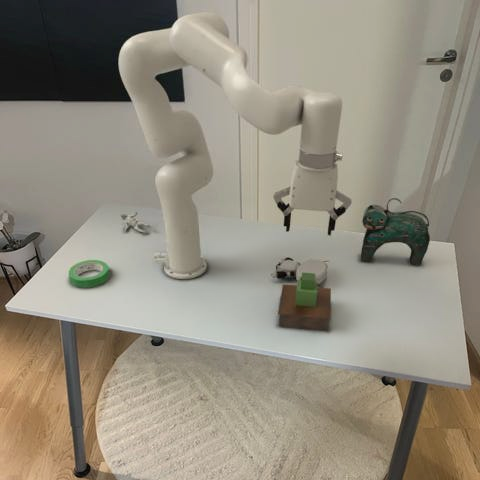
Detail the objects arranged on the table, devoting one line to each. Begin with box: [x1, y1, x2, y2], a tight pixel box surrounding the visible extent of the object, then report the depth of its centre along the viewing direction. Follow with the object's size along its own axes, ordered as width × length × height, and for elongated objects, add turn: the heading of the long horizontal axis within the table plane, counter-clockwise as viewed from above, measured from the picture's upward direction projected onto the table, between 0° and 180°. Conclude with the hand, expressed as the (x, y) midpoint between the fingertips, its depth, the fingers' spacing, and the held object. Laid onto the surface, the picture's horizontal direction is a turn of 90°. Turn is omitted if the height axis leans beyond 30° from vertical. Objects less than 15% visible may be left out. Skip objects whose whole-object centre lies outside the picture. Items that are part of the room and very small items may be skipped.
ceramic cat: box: [360, 197, 431, 266], centre depth 134 cm, size 20×6×20 cm, turn 80°
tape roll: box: [68, 259, 111, 289], centre depth 133 cm, size 11×11×3 cm
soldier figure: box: [120, 211, 151, 235], centre depth 156 cm, size 8×5×12 cm
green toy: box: [295, 272, 319, 307], centre depth 114 cm, size 5×5×7 cm
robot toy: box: [270, 256, 331, 285], centre depth 132 cm, size 12×4×15 cm
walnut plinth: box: [277, 284, 332, 332], centre depth 118 cm, size 13×13×4 cm
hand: (308, 230), depth 108 cm, fingers open, 9 cm apart
